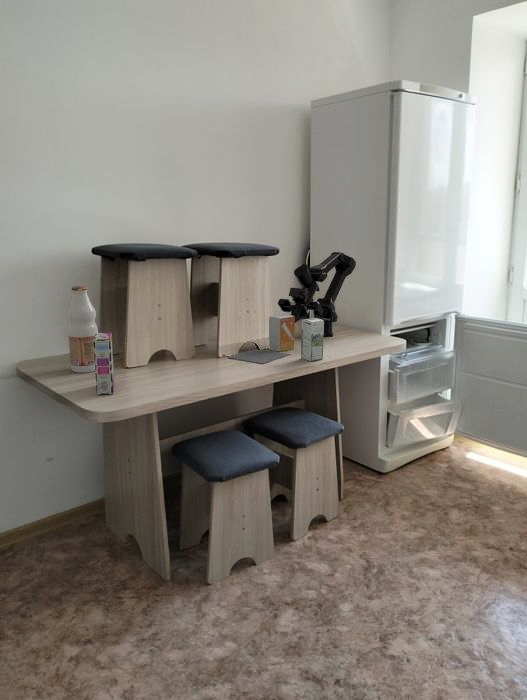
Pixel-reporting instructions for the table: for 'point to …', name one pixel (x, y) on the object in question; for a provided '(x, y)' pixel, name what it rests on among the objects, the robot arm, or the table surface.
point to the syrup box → (312, 339)
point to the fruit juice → (81, 331)
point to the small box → (281, 332)
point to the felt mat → (259, 356)
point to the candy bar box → (104, 363)
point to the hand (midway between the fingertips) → (291, 323)
